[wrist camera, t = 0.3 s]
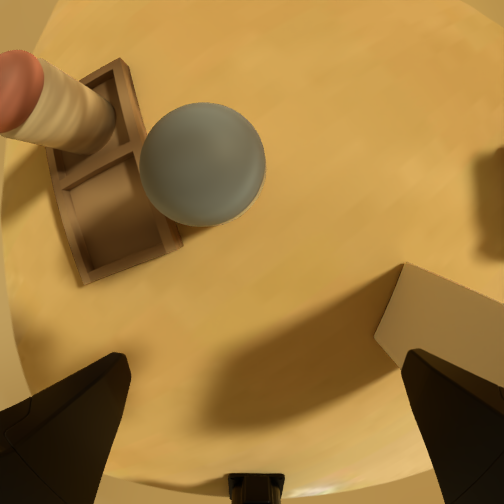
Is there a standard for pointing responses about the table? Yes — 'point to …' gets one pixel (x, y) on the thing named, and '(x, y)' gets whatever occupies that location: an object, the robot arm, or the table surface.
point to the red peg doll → (51, 106)
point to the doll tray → (110, 190)
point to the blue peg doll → (202, 165)
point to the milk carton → (444, 323)
